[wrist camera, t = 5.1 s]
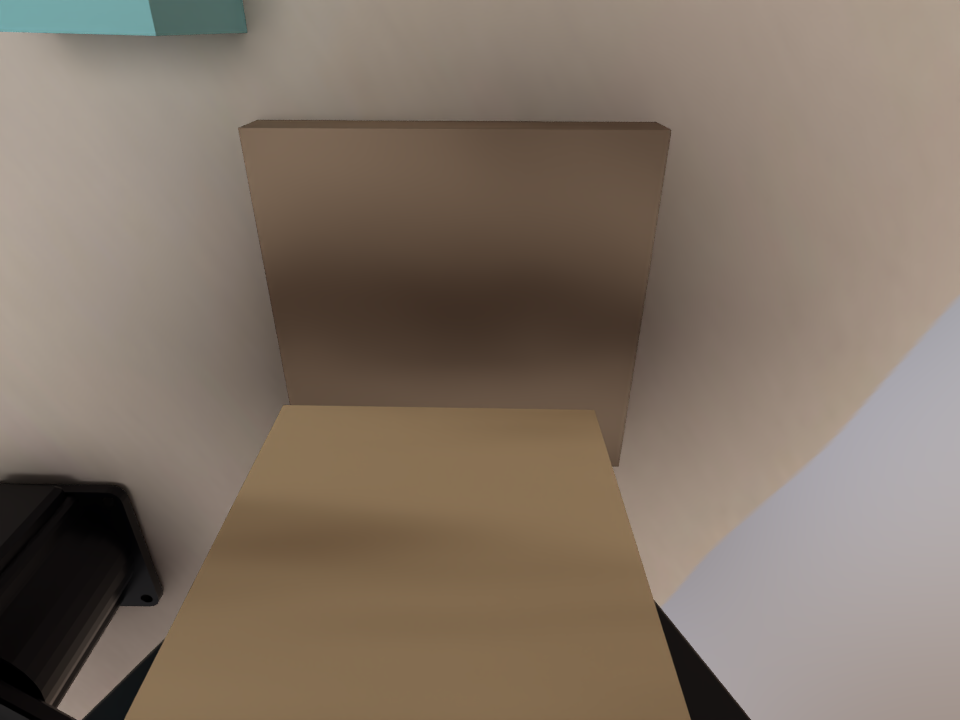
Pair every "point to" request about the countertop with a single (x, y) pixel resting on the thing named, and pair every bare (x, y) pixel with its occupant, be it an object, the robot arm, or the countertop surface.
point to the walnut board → (458, 260)
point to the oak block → (420, 578)
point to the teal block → (123, 17)
